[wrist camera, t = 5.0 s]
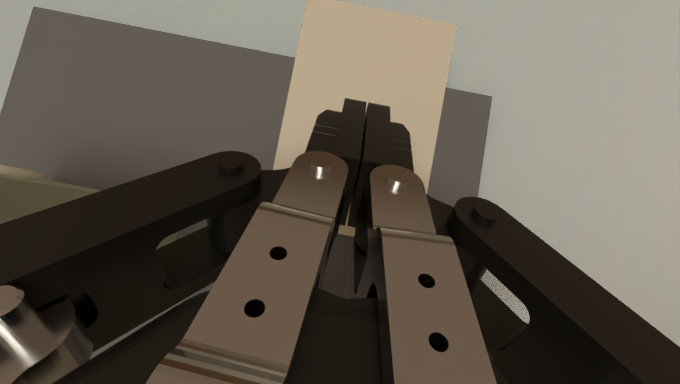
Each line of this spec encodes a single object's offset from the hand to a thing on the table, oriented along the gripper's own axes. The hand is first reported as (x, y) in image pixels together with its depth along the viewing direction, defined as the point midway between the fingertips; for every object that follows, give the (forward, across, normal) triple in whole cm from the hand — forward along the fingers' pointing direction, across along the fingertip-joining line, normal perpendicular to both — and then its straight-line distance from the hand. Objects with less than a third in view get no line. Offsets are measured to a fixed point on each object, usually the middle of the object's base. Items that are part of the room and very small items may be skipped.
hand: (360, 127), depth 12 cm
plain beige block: (0, 0, +5) cm, 5 cm away
